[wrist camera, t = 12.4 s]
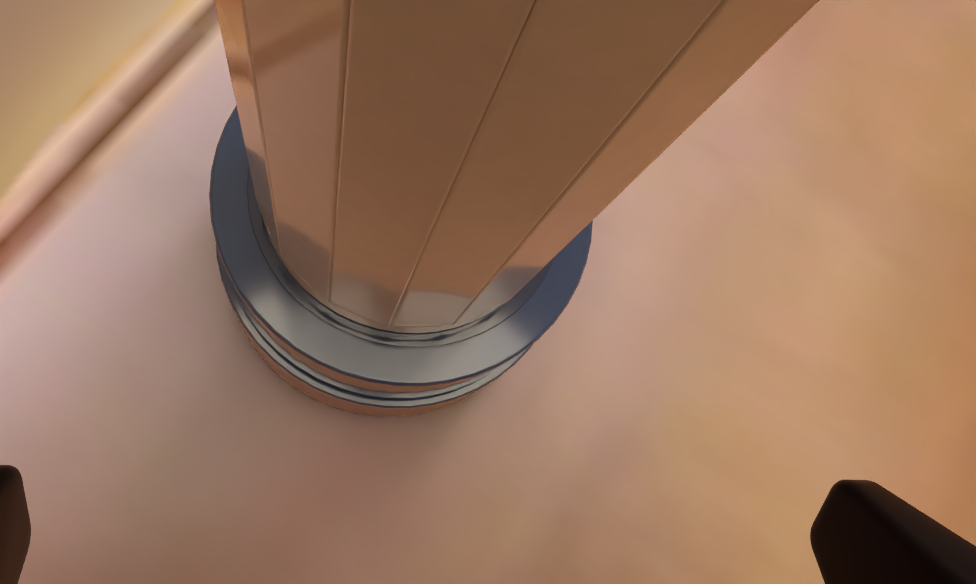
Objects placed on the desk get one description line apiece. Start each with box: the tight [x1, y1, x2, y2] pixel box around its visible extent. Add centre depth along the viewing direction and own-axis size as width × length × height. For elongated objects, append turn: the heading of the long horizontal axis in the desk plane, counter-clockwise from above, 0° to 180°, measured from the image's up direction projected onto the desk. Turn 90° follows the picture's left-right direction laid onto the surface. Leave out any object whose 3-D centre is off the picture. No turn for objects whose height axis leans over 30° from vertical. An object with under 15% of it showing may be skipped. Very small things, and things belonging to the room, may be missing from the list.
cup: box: [215, 0, 819, 333], centre depth 11 cm, size 7×7×13 cm
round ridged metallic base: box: [209, 105, 593, 417], centre depth 19 cm, size 9×9×5 cm
